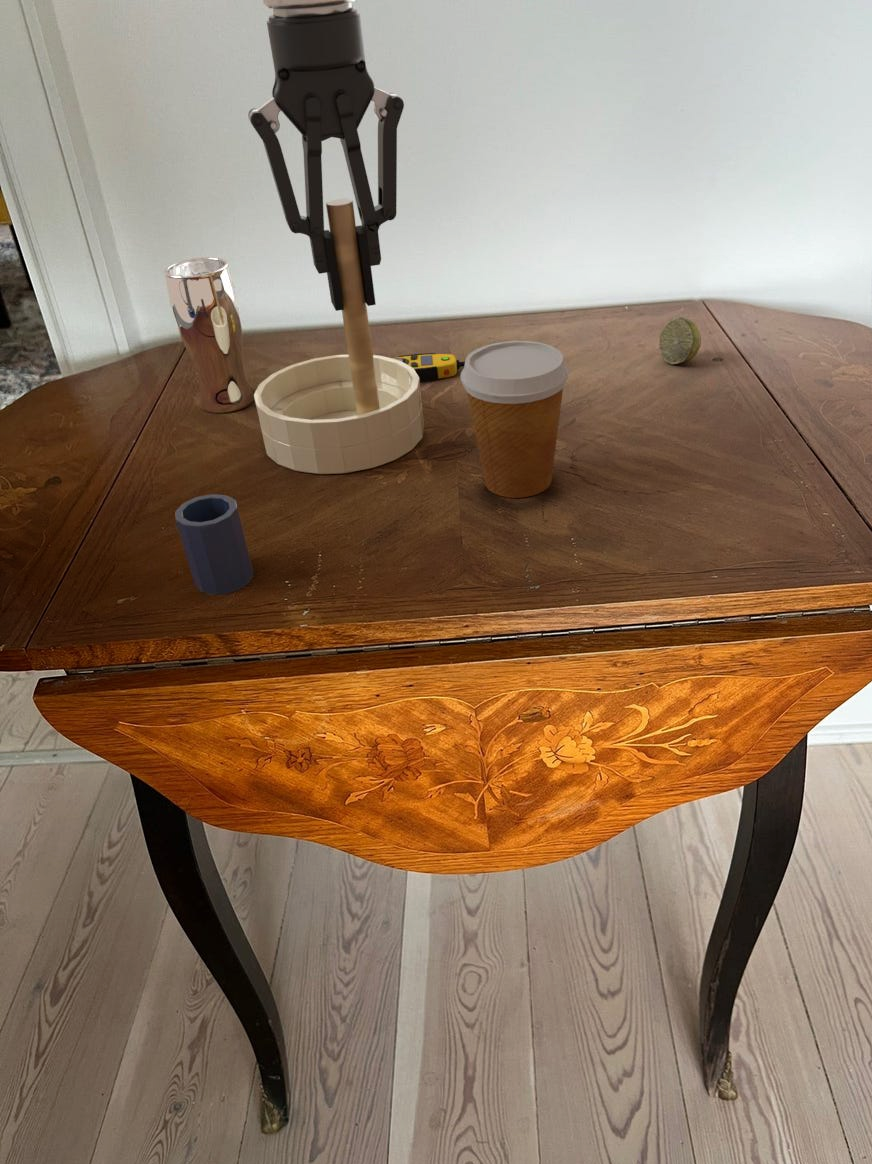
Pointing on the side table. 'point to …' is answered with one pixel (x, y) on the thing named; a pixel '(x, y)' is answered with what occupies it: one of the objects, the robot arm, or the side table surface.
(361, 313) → the stick
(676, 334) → the lime
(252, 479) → the side table surface
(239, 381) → the beer glass
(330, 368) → the bowl
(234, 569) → the holder
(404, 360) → the yellow handheld meter
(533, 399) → the disposable coffee cup
